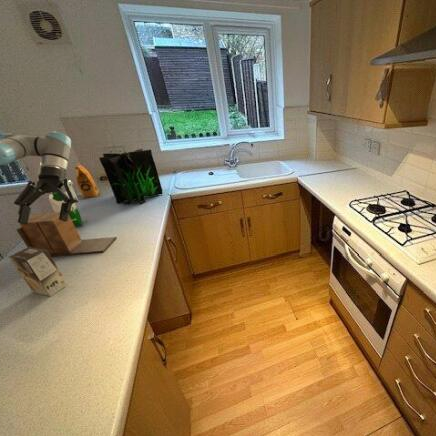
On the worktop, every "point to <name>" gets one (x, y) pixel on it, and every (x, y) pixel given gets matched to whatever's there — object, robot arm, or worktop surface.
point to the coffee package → (85, 182)
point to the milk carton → (74, 213)
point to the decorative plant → (132, 175)
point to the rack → (59, 236)
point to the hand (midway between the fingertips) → (42, 222)
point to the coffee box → (39, 270)
